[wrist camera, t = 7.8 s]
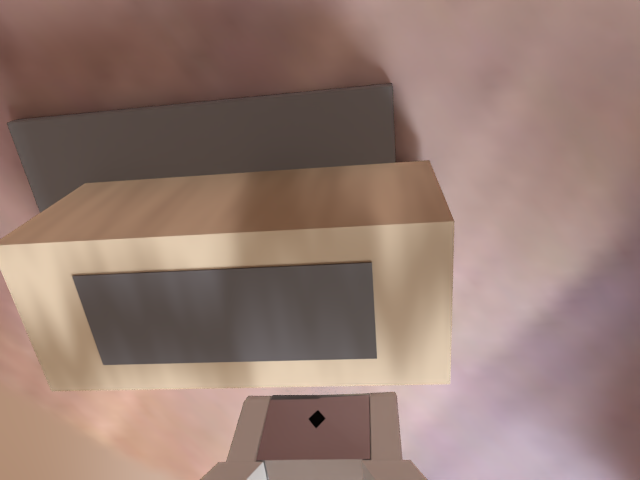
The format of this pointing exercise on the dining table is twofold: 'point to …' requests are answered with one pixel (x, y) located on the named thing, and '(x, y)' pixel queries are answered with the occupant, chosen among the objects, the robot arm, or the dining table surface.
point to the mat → (206, 139)
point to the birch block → (240, 280)
